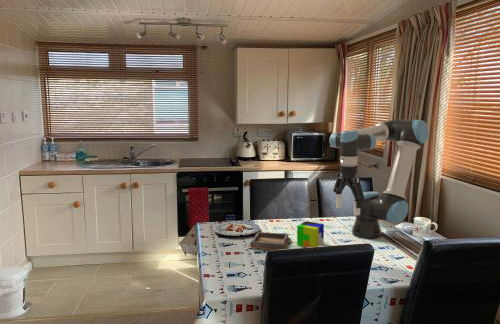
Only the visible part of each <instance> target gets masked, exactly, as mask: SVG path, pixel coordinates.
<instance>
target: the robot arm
mask: <svg viewBox="0 0 500 324" xmlns="http://www.w3.org/2000/svg"><path fill="white" fill-rule="evenodd" d="M429 132H430V131H429V127H428V125H427V123H426V122H425V120H421V119H392V120H387V121H384V122H379V123H377V124H375V125H374V126H369V127H365V128H358V129H353V130H343V131H341V132H339V131H338V132H333V133H331V134H330V137H329V144H330V147H331V148H335V149H340V153H339V155H340V157H339V160H340V161H339V164H340V165H339V173H337V175H336V177H337V178H336V181H335V183H334V187H333V189H332V191H333V192H334V193H335V200H336V203H335V206H336V209H341V208H343V191H344V190H345V188H346V186H347V187H348V188H349V189H350V191H351V192H352V195H353V197H354V200H353V216H355V221H354V224H353V226H352V230H351V232H352V234H351V235H353V236H355V237H356V238H361V239H367V240H369V239H370V240H371V239H378V238H380V237H382V229H381V226H380V222H379V220H382V221H384V222H389V223H395V224H398V223H401V222H402V221H403V220H405V219H406V218H407V215H408V214H409V213H408V212H409V204H408V202H407V201H406V200H407V198H406V196H405V192H406V189H407V185H408V182H409V177H410V174H411V170H412V167H413V163H414V160H415V155H416V152H417V150H419V149H421V146H422V144H426V143H427V141H428V140H429V136H430V135H429ZM377 141H380V142H384V141H390V142H391V141H392V142H393V141H394V142H396V144H397V146H398V148H397V151H396V155H395V158H394V161H393V166H392V169H391V172H390V176H389V180H388V184H387V186H386V190H384V191H382V193H381V196H380V192H379V191H363V188H362V184H361V178H360V177H356V175H357V174H358V166H357V165H358V164H359V163H358V162H359V161H358V157H359V156H358V152H361V151H370V150H373V149H374V148H375V147H376V145H377Z"/></svg>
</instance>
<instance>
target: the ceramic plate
mask: <svg viewBox="0 0 500 324" xmlns="http://www.w3.org/2000/svg"><path fill="white" fill-rule="evenodd" d="M231 223H239V224H247V225H250V226H252V227H253V228H254V231H252V232H250V233H245V234H227V233H223V232H221V231H220V230H219V228H220V227H221V226H223V225H226V224H229V225H228V226H229V227H227V228H226V230H225V231H233V229H231V228H235V227H236V226H237V225H233V224H231ZM230 227H231V228H230ZM242 228H243V230H244V229H246V227H245V226H244V225H239V226H238V228H237V229H234V230H235V231H236V232H243V230H242ZM247 229H250V228H247ZM260 229H261V226H260V225H258V224H257V223H254V222H250V221H244V220H234V221H233V220H232V221H225V222H221V223H218V224H216V225H215V226H214V227H213V230H214V232H215V233H217V234H220V235H224V236H230V235H231V236H230V237H240V235H243V236H248V235H251V234H255V233H258V232H260Z"/></svg>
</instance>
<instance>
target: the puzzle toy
mask: <svg viewBox="0 0 500 324" xmlns="http://www.w3.org/2000/svg"><path fill="white" fill-rule="evenodd" d="M324 229H325V224H324V223H320V222H314V221H307V220H305V221H303V222H302V223H300V224H299V225H297V228H296V233H297V235H296V246H299V247H305V248H308V247H317V246H319V247H320V246H322V245H324V237H325V236H324V235H325V230H324Z"/></svg>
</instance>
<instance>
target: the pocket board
mask: <svg viewBox="0 0 500 324" xmlns="http://www.w3.org/2000/svg"><path fill="white" fill-rule="evenodd" d="M289 242H291V236H289V234H288V233H279V232H263V231H257V232H256V234H255V236H254V237H253V238H252V239H251V240H250V243H249V244H248V246H247V247H251V248H259V249H258V250H261V249H266V250H265V251H273V250H277V249H287V247H288V245H289Z"/></svg>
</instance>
